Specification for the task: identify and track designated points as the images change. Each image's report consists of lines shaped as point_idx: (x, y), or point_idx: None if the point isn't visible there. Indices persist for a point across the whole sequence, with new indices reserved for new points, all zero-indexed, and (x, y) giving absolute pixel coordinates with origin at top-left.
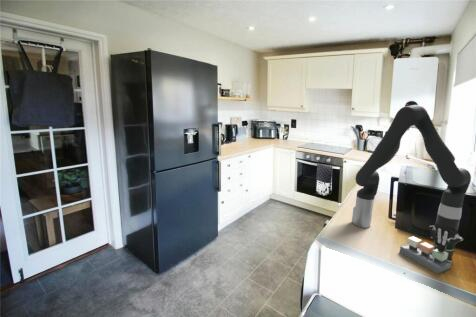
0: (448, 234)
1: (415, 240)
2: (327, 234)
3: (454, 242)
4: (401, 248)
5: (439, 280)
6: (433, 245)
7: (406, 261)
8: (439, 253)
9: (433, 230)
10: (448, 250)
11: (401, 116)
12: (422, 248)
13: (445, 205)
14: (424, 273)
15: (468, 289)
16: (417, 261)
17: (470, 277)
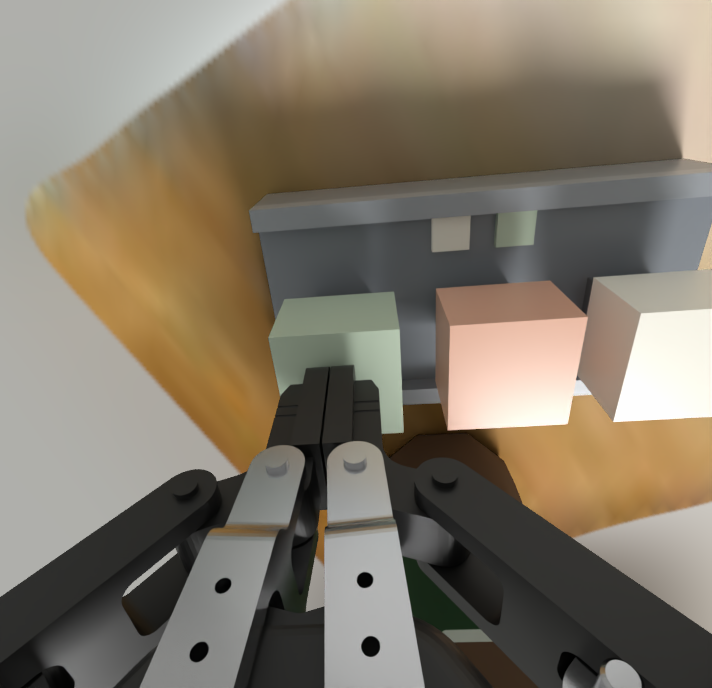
0: None
1: (673, 340)
2: None
3: (42, 589)
4: (707, 166)
5: (176, 87)
6: (516, 498)
7: (539, 50)
8: (313, 334)
9: (582, 661)
10: None
11: None
12: (522, 297)
13: None
14: (306, 37)
15: (41, 232)
16: (472, 177)
17: (176, 396)
